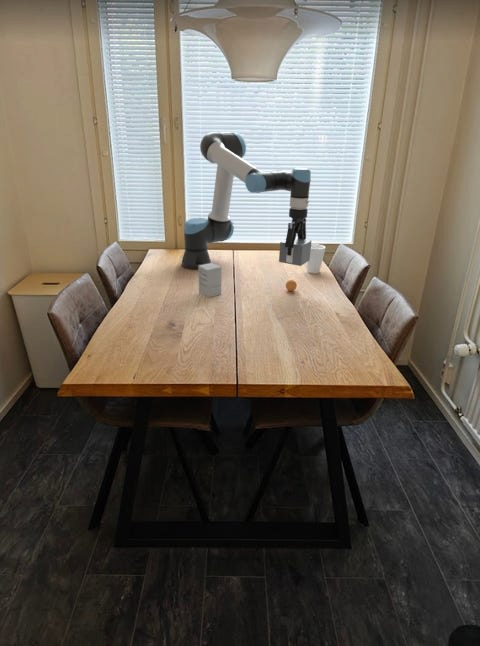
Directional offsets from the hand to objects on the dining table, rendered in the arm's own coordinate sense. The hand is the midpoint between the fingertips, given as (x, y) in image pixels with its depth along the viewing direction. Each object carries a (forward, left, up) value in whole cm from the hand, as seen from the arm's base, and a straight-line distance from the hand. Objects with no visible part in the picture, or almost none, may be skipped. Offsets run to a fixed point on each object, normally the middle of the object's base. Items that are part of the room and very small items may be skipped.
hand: (294, 259), depth 192 cm
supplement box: (-29, -23, -15) cm, 40 cm away
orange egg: (0, 0, -12) cm, 12 cm away
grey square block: (0, 0, -1) cm, 1 cm away
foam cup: (-2, +32, -15) cm, 35 cm away
